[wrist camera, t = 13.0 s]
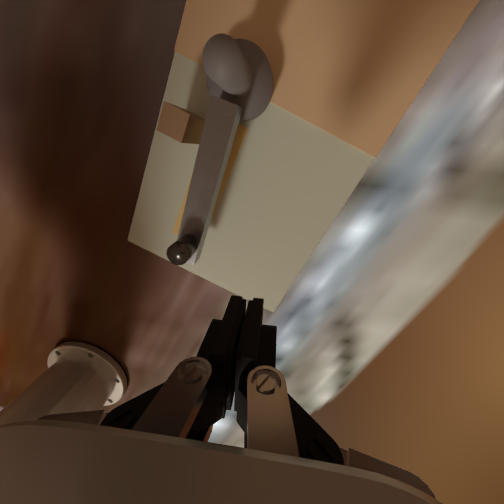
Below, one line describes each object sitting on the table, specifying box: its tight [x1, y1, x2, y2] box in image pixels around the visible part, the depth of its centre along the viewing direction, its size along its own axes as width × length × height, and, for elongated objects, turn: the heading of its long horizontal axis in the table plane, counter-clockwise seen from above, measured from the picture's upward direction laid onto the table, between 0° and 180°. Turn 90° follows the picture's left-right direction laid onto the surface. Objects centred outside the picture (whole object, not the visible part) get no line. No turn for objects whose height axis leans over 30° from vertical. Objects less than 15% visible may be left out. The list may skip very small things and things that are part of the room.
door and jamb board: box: [127, 0, 479, 312], centre depth 17 cm, size 34×18×8 cm, turn 155°
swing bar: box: [166, 95, 243, 265], centre depth 19 cm, size 13×2×4 cm, turn 160°
